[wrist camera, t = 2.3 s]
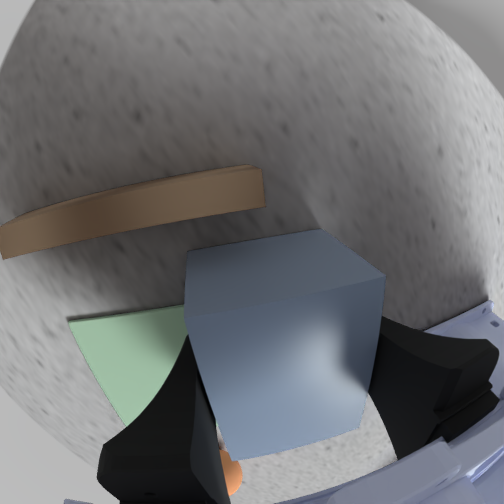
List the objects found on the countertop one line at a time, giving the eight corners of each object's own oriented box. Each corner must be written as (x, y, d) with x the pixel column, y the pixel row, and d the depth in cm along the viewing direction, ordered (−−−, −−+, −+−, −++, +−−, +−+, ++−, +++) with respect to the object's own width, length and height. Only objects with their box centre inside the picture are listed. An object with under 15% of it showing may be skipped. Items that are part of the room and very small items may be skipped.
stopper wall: (248, 164, 11) (261, 169, 9) (251, 194, 12) (265, 206, 9) (24, 213, 10) (-6, 229, 8) (31, 239, 10) (2, 259, 8)
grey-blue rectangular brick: (321, 228, 13) (386, 275, 8) (321, 362, 15) (358, 427, 11) (187, 251, 12) (184, 318, 7) (219, 385, 15) (231, 461, 10)
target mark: (251, 292, 13) (252, 294, 13) (268, 414, 16) (269, 416, 16) (69, 320, 12) (68, 323, 12) (131, 431, 15) (131, 433, 15)
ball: (232, 433, 17) (242, 483, 13) (241, 459, 18) (250, 502, 14) (174, 441, 16) (175, 490, 12) (189, 466, 18) (193, 508, 14)
